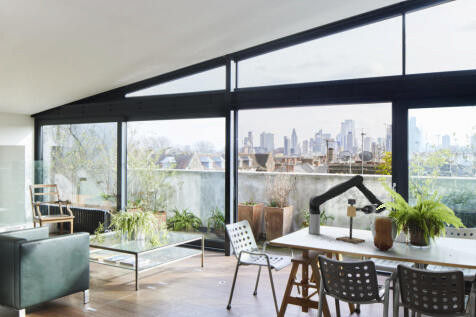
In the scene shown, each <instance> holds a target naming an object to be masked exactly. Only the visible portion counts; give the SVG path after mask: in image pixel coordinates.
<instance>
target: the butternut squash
mask: <svg viewBox="0 0 476 317" xmlns="http://www.w3.org/2000/svg"><path fill="white" fill-rule="evenodd" d="M374 220H375V221H374V231H375V235H374V237H373V244H374V247H376V249H378V250H381V251H383V252H386V251H387V252H388V251H389V250H391V248H392V247H393V246H394V240H393V235H392V232H393V229H392V228H393V223H392V219H391V217H388V216H381V215H380V216H376V218H375V219H374Z"/></svg>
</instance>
